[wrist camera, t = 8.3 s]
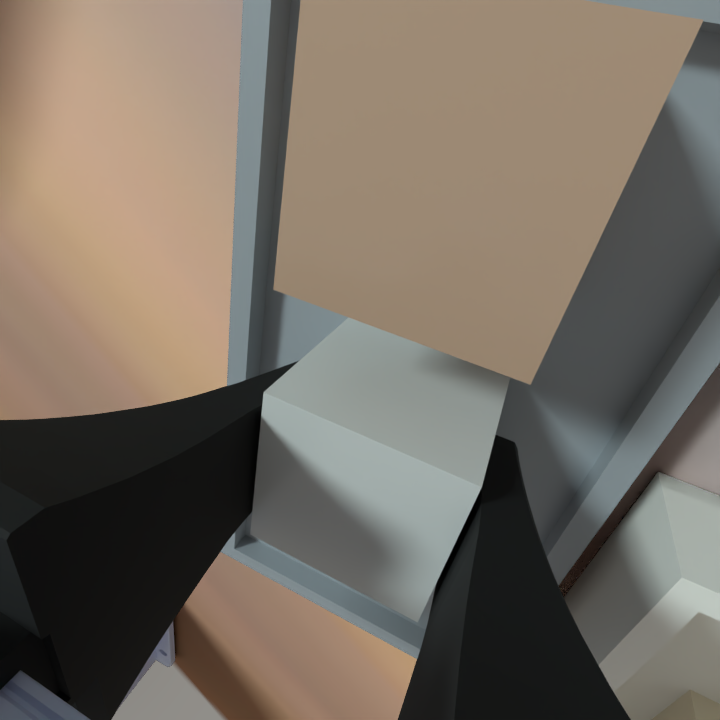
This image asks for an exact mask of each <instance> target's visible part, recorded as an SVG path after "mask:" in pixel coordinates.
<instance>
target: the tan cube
mask: <svg viewBox="0 0 720 720" xmlns="http://www.w3.org/2000/svg"><path fill="white" fill-rule="evenodd" d="M702 23H703V20H702V19H696V18H690V17H683V16H677V15H671V14H665V13H659V12H653V11H647V10H641V9H635V8H629V7H622V6H616V5H610V4H604V3H598V2H592V1H586V0H301V1H300V12H299V23H298V33H297V44H296V54H295V65H294V76H293V86H292V97H291V107H290V118H289V128H288V139H287V150H286V160H285V171H284V181H283V192H282V203H281V213H280V224H279V234H278V245H277V255H276V266H275V277H274V287H273V290H276V291H278V292H281V293H284V294H286V295H289V296H292V297H295V298H297V299H300V300H303V301H305V302H308V303H311V304H314V305H316V306H319V307H322V308H324V309H327V310H330V311H332V312H335V313H338V314H341V315H343V316H346V317H349V318H351V319H354V320H357V321H359V322H362V323H365V324H368V325H370V326H373V327H376V328H378V329H381V330H384V331H386V332H389V333H392V334H395V335H397V336H400V337H403V338H405V339H408V340H411V341H413V342H416V343H419V344H422V345H424V346H427V347H430V348H432V349H435V350H438V351H440V352H443V353H446V354H449V355H451V356H454V357H457V358H459V359H462V360H465V361H467V362H470V363H473V364H476V365H478V366H481V367H484V368H486V369H489V370H492V371H495V372H497V373H500V374H503V375H505V376H508V377H511V378H513V379H516V380H519V381H522V382H524V383H527V384H530V385H531V383H532V381H533V378H534V376H535V374H536V372H537V370H538V368H539V366H540V364H541V362H542V360H543V357H544V355H545V353H546V351H547V349H548V347H549V345H550V343H551V341H552V338H553V336H554V334H555V332H556V330H557V328H558V326H559V324H560V322H561V320H562V317H563V315H564V313H565V311H566V309H567V307H568V305H569V303H570V301H571V298H572V296H573V294H574V292H575V290H576V288H577V286H578V284H579V282H580V280H581V277H582V275H583V273H584V271H585V269H586V267H587V265H588V263H589V261H590V258H591V256H592V254H593V252H594V250H595V248H596V246H597V244H598V242H599V240H600V237H601V235H602V233H603V231H604V229H605V227H606V225H607V223H608V221H609V218H610V216H611V214H612V212H613V210H614V208H615V206H616V204H617V202H618V199H619V197H620V195H621V193H622V191H623V189H624V187H625V185H626V183H627V181H628V178H629V176H630V174H631V172H632V170H633V168H634V166H635V164H636V162H637V159H638V157H639V155H640V153H641V151H642V149H643V147H644V145H645V143H646V141H647V138H648V136H649V134H650V132H651V130H652V128H653V126H654V124H655V122H656V119H657V117H658V115H659V113H660V111H661V109H662V107H663V105H664V103H665V101H666V98H667V96H668V94H669V92H670V90H671V88H672V86H673V84H674V82H675V79H676V77H677V75H678V73H679V71H680V69H681V67H682V65H683V63H684V60H685V58H686V56H687V54H688V52H689V50H690V48H691V46H692V44H693V42H694V39H695V37H696V35H697V33H698V31H699V29H700V27H701V25H702Z"/></svg>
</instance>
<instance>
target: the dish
mask: <svg viewBox="0 0 720 720" xmlns="http://www.w3.org/2000/svg"><path fill="white" fill-rule="evenodd" d="M564 599H565V602H566V604H567V606H568V608H569V610H570V612H571V614H572V616H573V618H574V620H575V622H576V624H577V626H578V628H579V631H580V633H581V635H582V637H583V638H584V640H585V642H586V644H587V646H588V647H589V649H590V651H591V653H592V654H593V656H594V658H595V660H596V662H597V663H598V665H599V667H600V669H601V671H602V672H603V674H604V676H605V678H606V680H607V681H608V683H609V685H610V687H611V688H612V690H613V692H614V694H615V695H616V697H617V698H618V700H619V702H620V703H621V705H622V706H623V708H624V710H625V711H626V713H627V714H628V716H629V718H630V719H631V720H651V719H653V718H654V717H655V716H657V715H658V714H659V713H660V712H662V711H663V710H664V709H666V708H667V707H668V706H669V705H671V704H672V703H673V702H675V701H676V700H677V699H678V698H680V697H681V696H682V695H684V694H685V693H686V692H687V691H689V690H692V691H694V692H696V693H698V694H700V695H702V696H705V697H707V698H709V699H711V700H713V701H715V702H717V703H719V704H720V496H719V495H717V494H714V493H712V492H709V491H706V490H704V489H701V488H699V487H696V486H694V485H691V484H688V483H686V482H683V481H681V480H678V479H676V478H673V477H670V476H668V475H665V474H663V473H660V472H658V473H657V474H656V475H655V477H654V478H653V479H652V481H651V482H650V483H649V485H648V486H647V487H646V489H645V490H644V491H643V493H642V494H641V495H640V497H639V498H638V499H637V501H636V502H635V503H634V505H633V506H632V507H631V509H630V510H629V511H628V513H627V514H626V515H625V517H624V518H623V519H622V521H621V522H620V523H619V525H618V526H617V527H616V529H615V530H614V531H613V533H612V534H611V535H610V537H609V538H608V539H607V541H606V542H605V543H604V545H603V546H602V547H601V549H600V550H599V551H598V553H597V554H596V555H595V557H594V558H593V559H592V561H591V562H590V563H589V565H588V566H587V567H586V569H585V570H584V571H583V573H582V574H581V575H580V577H579V578H578V579H577V581H576V582H575V583H574V585H573V586H572V587H571V589H570V590H569V591H568V593H567V594H566V595H565V597H564Z"/></svg>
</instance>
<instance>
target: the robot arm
mask: <svg viewBox="0 0 720 720" xmlns="http://www.w3.org/2000/svg"><path fill="white" fill-rule="evenodd" d="M297 362H299V361H297ZM297 362H294V363H291V364H288V365H286V366H283V367H280V368H278V369H275V370H272V371H270V372H267V373H264V374H261V375H258V376H256V377H253V378H250V379H247V380H244V381H241V382H239V383H236V384H232V385H229V386H226V387H222V388H219V389H216V390H213V391H209V392H206V393H203V394H200V395H196V396H192V397H188V398H184V399H180V400H176V401H171V402H167V403H162V404H157V405H153V406H147V407H142V408H135V409H128V410H122V411H115V412H108V413H102V414H94V415H84V416H74V417H62V418H48V419H31V420H0V720H111V719H112V717H113V716H114V714H115V712H116V711H117V709H118V708H119V707H120V706H121V704H122V703H123V702H124V700H125V699H126V698H127V697H128V695H129V694H130V693H131V691H132V690H133V689H134V688H135V686H136V685H137V684H138V682H139V681H140V680H141V678H142V677H143V676H144V675H145V673H146V672H147V671H148V670H149V668H150V667H151V666H152V664H153V663H154V662H155V660H157V661H158V662H160V663H162V664H163V665H165V666H167V667H170V666H172V664H173V663H174V662H175V646H174V628H173V620H174V619H175V617H176V615H177V614H178V612H179V611H180V609H181V608H182V606H183V605H184V603H185V602H186V601H187V599H188V598H189V596H190V595H191V593H192V592H193V590H194V589H195V587H196V586H197V584H198V583H199V581H200V580H201V578H202V577H203V575H204V574H205V573H206V571H207V570H208V568H209V567H210V566H211V564H212V563H213V561H214V560H215V558H216V557H217V556H218V554H219V553H220V551H221V550H222V549H223V547H224V546H225V544H226V543H227V542H228V540H229V539H230V538H231V536H232V535H233V534H234V533H235V531H236V530H237V529H238V528H239V526H240V525H241V524H242V523H243V522H244V520H245V519H246V518H247V517H248V516H249V515H250V514H251V512H252V509H253V499H254V488H255V477H256V467H257V456H258V446H259V435H260V425H261V414H262V403H263V393H264V391H266V390H267V389H268V388H269V387H270V386H271V385H272V384H273V383H275V382H276V381H277V380H278V379H279V378H280V377H281V376H283V375H284V374H285V373H286V372H287V371H288V370H289V369H291V368H292V367H293V366H294V365H295V364H296V363H297ZM398 720H631V719H630V718H629V716H628V714H627V713H626V711H625V710H624V708H623V706H622V705H621V703H620V702H619V700H618V698H617V697H616V695H615V694H614V692H613V690H612V688H611V687H610V685H609V683H608V681H607V680H606V678H605V676H604V674H603V672H602V671H601V669H600V667H599V665H598V663H597V662H596V660H595V658H594V656H593V654H592V653H591V651H590V649H589V647H588V646H587V644H586V642H585V640H584V638H583V637H582V635H581V633H580V631H579V628H578V626H577V624H576V622H575V620H574V618H573V616H572V614H571V612H570V610H569V608H568V606H567V604H566V602H565V599H564V597H563V595H562V593H561V590H560V588H559V586H558V584H557V581H556V579H555V577H554V574H553V572H552V569H551V567H550V564H549V562H548V559H547V556H546V553H545V551H544V548H543V545H542V542H541V540H540V537H539V534H538V531H537V528H536V525H535V521H534V518H533V515H532V511H531V508H530V504H529V501H528V497H527V493H526V490H525V485H524V481H523V477H522V472H521V467H520V462H519V456H518V448H517V446H516V444H515V442H513V441H511V440H508V439H506V438H503V437H501V436H498V435H495V438H494V442H493V446H492V450H491V454H490V458H489V462H488V465H487V469H486V473H485V477H484V481H483V485H482V488H481V490H480V492H479V494H478V496H477V498H476V501H475V503H474V505H473V507H472V509H471V511H470V513H469V515H468V517H467V520H466V522H465V524H464V526H463V528H462V530H461V532H460V534H459V536H458V538H457V541H456V543H455V545H454V547H453V549H452V551H451V553H450V555H449V557H448V560H447V562H446V564H445V566H444V568H443V570H442V572H441V574H440V576H439V578H438V581H437V583H436V587H435V591H434V596H433V600H432V605H431V610H430V614H429V619H428V623H427V627H426V631H425V635H424V639H423V642H422V646H421V649H420V652H419V655H418V658H417V661H416V665H415V668H414V671H413V674H412V677H411V680H410V683H409V687H408V690H407V693H406V696H405V699H404V702H403V705H402V708H401V711H400V715H399V718H398Z"/></svg>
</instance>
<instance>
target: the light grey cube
mask: <svg viewBox="0 0 720 720" xmlns="http://www.w3.org/2000/svg"><path fill="white" fill-rule="evenodd" d="M509 381H510V377H508V376H505V375H503V374H500V373H497V372H495V371H492V370H489V369H486V368H484V367H481V366H478V365H476V364H473V363H470V362H467V361H465V360H462V359H459V358H457V357H454V356H451V355H449V354H446V353H443V352H440V351H438V350H435V349H432V348H430V347H427V346H424V345H422V344H419V343H416V342H413V341H411V340H408V339H405V338H403V337H400V336H397V335H395V334H392V333H389V332H386V331H384V330H381V329H378V328H376V327H373V326H370V325H368V324H365V323H362V322H359V321H357V320H354V319H351V318H347V319H346V320H345V321H344V322H343V323H342V324H341V325H339V326H338V327H337V328H336V329H335V330H334V331H333V332H332V333H330V334H329V335H328V336H327V337H326V338H325V339H324V340H322V341H321V342H320V343H319V344H318V345H317V346H316V347H314V348H313V349H312V350H311V351H310V352H309V353H308V354H306V355H305V356H304V357H303V358H302V359H301V360H300V361H299V362H297V363H296V364H295V365H294V366H293V367H292V368H291V369H289V370H288V371H287V372H286V373H285V374H284V375H283V376H281V377H280V378H279V379H278V380H277V381H276V382H275V383H273V384H272V385H271V386H270V387H269V388H268V389H267V390H266V391H264V393H263V403H262V414H261V425H260V435H259V446H258V456H257V467H256V477H255V488H254V499H253V509H252V520H251V530H250V535H252V536H254V537H256V538H258V539H260V540H262V541H264V542H266V543H267V544H269V545H271V546H273V547H275V548H277V549H279V550H281V551H283V552H285V553H287V554H288V555H290V556H292V557H294V558H296V559H298V560H300V561H302V562H304V563H306V564H307V565H309V566H311V567H313V568H315V569H317V570H319V571H321V572H323V573H325V574H326V575H328V576H330V577H332V578H334V579H336V580H338V581H340V582H342V583H344V584H345V585H347V586H349V587H351V588H353V589H355V590H357V591H359V592H361V593H363V594H364V595H366V596H368V597H370V598H372V599H374V600H376V601H378V602H380V603H382V604H383V605H385V606H387V607H389V608H391V609H393V610H395V611H397V612H399V613H401V614H402V615H404V616H406V617H408V618H410V619H412V620H414V621H416V622H418V621H419V619H420V616H421V614H422V612H423V610H424V608H425V606H426V604H427V602H428V600H429V597H430V595H431V593H432V591H433V589H434V587H435V585H436V583H437V581H438V578H439V576H440V574H441V572H442V570H443V568H444V566H445V564H446V562H447V560H448V557H449V555H450V553H451V551H452V549H453V547H454V545H455V543H456V541H457V538H458V536H459V534H460V532H461V530H462V528H463V526H464V524H465V522H466V520H467V517H468V515H469V513H470V511H471V509H472V507H473V505H474V503H475V501H476V498H477V496H478V494H479V492H480V490H481V488H482V485H483V481H484V477H485V473H486V469H487V465H488V462H489V458H490V454H491V450H492V446H493V442H494V438H495V435H496V431H497V427H498V423H499V419H500V415H501V411H502V408H503V404H504V400H505V396H506V392H507V388H508V385H509Z"/></svg>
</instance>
